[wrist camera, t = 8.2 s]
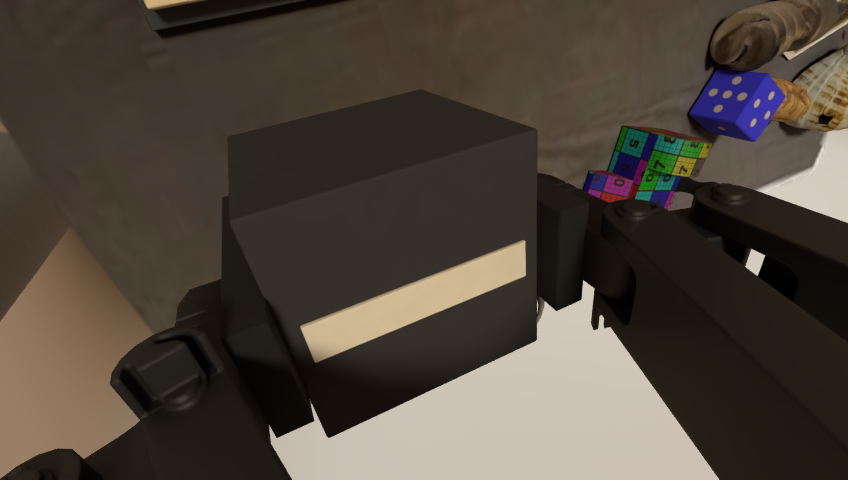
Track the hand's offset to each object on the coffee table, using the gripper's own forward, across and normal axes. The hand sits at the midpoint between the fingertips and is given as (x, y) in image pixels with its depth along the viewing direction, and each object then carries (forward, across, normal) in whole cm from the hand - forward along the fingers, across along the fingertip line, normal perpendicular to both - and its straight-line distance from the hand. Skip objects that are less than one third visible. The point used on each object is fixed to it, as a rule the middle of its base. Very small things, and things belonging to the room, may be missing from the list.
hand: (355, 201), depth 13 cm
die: (+17, +43, -9) cm, 47 cm away
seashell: (+17, +61, -11) cm, 64 cm away
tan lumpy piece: (+12, +52, -10) cm, 55 cm away
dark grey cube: (0, 0, 0) cm, 0 cm away
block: (+17, +30, -15) cm, 38 cm away
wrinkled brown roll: (+15, +55, -2) cm, 57 cm away
